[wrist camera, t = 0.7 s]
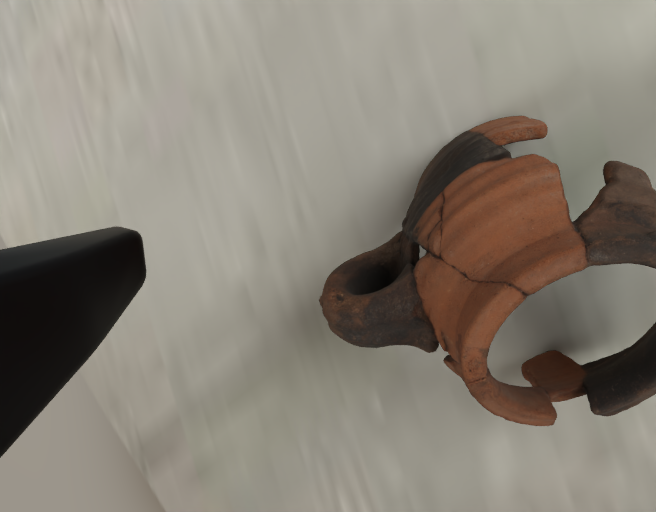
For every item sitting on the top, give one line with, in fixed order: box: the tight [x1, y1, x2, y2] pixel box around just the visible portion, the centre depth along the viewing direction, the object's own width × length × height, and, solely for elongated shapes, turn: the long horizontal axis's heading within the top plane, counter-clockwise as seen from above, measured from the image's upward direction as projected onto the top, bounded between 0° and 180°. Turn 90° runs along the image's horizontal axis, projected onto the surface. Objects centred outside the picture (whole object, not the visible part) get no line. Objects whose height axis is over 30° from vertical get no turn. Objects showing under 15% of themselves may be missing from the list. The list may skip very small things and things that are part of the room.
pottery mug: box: [319, 116, 656, 426], centre depth 19 cm, size 12×10×8 cm
